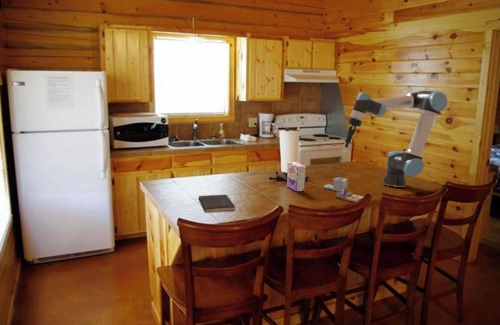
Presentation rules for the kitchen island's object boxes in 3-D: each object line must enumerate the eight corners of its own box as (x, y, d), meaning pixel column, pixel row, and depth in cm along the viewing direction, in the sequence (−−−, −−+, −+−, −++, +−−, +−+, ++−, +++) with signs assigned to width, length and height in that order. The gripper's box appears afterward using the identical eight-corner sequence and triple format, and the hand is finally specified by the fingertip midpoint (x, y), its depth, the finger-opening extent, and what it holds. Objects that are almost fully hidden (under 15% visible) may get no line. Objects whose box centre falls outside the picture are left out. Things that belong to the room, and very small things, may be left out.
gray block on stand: (341, 195, 242) (343, 177, 239) (352, 197, 237) (353, 179, 235) (335, 197, 236) (337, 179, 234) (346, 200, 232) (347, 181, 230)
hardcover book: (226, 198, 232) (226, 194, 231) (235, 210, 210) (235, 206, 209) (198, 199, 227) (198, 195, 227) (204, 212, 206) (204, 208, 205)
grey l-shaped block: (328, 187, 260) (329, 175, 258) (346, 191, 251) (347, 179, 249) (323, 189, 255) (323, 176, 253) (341, 193, 246) (342, 180, 245)
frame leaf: (353, 197, 238) (353, 193, 237) (363, 200, 233) (364, 196, 233) (345, 200, 231) (345, 196, 231) (356, 203, 227) (357, 199, 226)
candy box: (286, 186, 258) (287, 161, 254) (294, 186, 260) (295, 161, 257) (296, 192, 245) (297, 166, 242) (304, 192, 247) (306, 165, 244)
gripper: (349, 117, 251) (337, 149, 253) (350, 115, 226) (337, 151, 229) (361, 121, 249) (349, 153, 252) (363, 119, 225) (350, 155, 227)
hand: (343, 152), depth 240 cm, fingers open, 13 cm apart
